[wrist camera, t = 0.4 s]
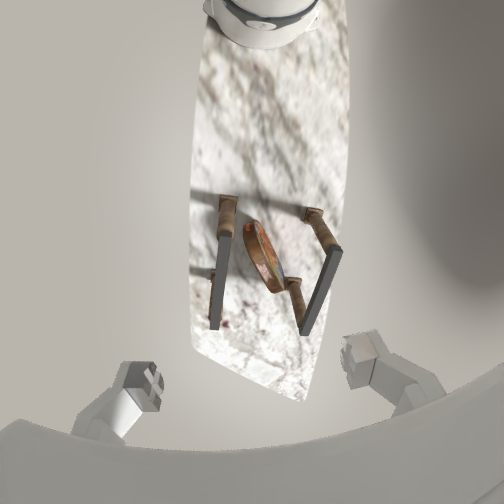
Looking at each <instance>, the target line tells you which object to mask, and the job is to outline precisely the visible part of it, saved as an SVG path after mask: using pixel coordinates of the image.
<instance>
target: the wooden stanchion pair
mask: <svg viewBox="0 0 504 504" xmlns="http://www.w3.org/2000/svg"><path fill="white" fill-rule="evenodd" d="M237 199H238V197H234V196H226V195H221V196H220V204H219V211H218V212H220V216H219V223H218V231H217V240H218V241H219V238H220V231H228V232H232V240H231V242H232V241H233V239H234V214H235V211H236V205H237ZM322 216H323V210H319V209H313V208H307V212H306V215H305V219H304V224H309V225H311V226H312V228H313V230H314V232H315V234H316V236H317V238H318V240H319V242H320V244H321V246H322V248H323V250H324V252H325V254H326V255H327V253H328V250H329V247H330V245H335V246H339V245H338V243H337V241H336V240H335V238H334V237H333V235H332V233H331V232H330V230H329V229H328V227H327V225H326V224H325V222H324V221H323V219H322ZM215 271H216V269H212V273H211V283H212V286H211V296H210V306H209V316H208V319H209V320H210V319H211V309H212V299H213V290H214V280H215ZM301 282H302V279H301V278H292V277H288V279H287V282H286V286H287V289H286V290H287V291H289V293H290V297H291V301H292V305H293V309H294V313H295V318H296V322H297V326H298V328H299V327H300V325H301V322H302V320H303V317H304V315H305V312H306V306H305V303H304V299H303V296H302V293H301V289H300V285H301ZM222 311H223V303H222ZM222 311H221V318H220V321H221V320H222Z"/></svg>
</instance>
